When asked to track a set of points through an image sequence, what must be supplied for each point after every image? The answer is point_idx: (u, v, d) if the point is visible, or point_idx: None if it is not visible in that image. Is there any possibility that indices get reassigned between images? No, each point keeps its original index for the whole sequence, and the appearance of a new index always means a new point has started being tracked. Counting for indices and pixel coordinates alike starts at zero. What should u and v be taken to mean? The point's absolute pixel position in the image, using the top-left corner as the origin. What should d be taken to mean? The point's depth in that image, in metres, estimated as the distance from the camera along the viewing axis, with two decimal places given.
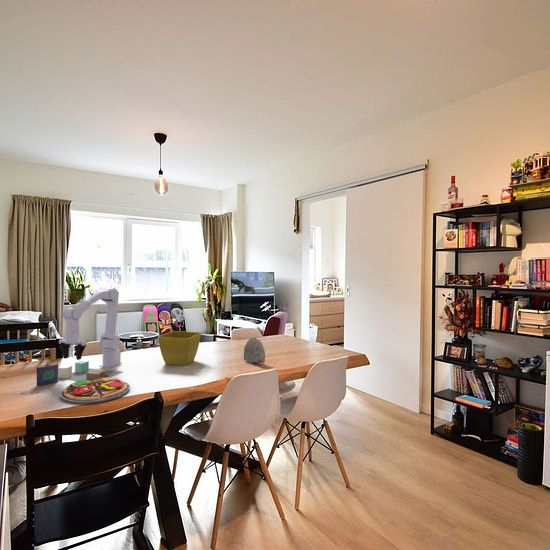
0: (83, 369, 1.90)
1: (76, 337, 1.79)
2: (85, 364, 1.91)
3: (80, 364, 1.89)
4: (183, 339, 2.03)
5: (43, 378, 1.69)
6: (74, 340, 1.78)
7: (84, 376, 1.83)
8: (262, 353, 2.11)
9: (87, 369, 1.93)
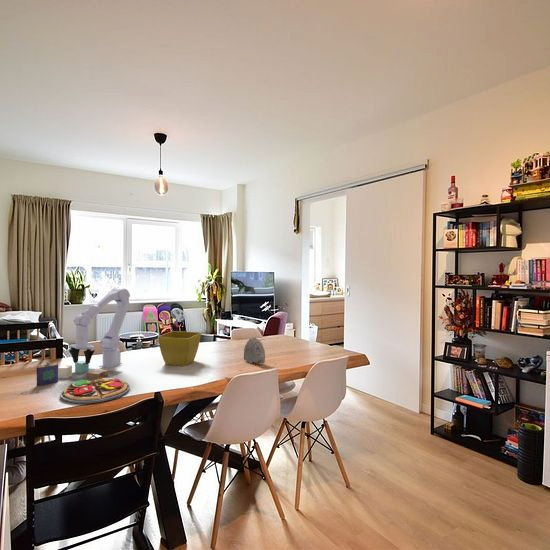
0: (83, 369, 1.90)
1: (85, 342, 1.91)
2: (85, 364, 1.91)
3: (80, 364, 1.89)
4: (183, 339, 2.03)
5: (43, 378, 1.69)
6: (83, 345, 1.90)
7: (84, 376, 1.83)
8: (262, 353, 2.11)
9: (87, 369, 1.93)
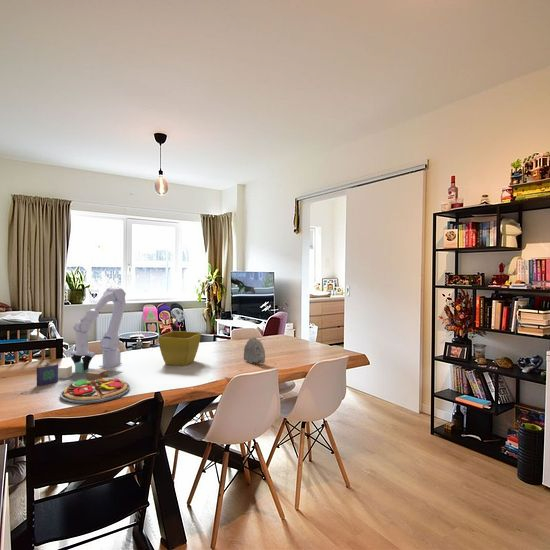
0: (83, 369, 1.90)
1: (85, 349, 1.91)
2: None
3: (80, 364, 1.89)
4: (183, 339, 2.03)
5: (43, 378, 1.69)
6: (83, 352, 1.90)
7: (84, 376, 1.83)
8: (262, 353, 2.11)
9: None
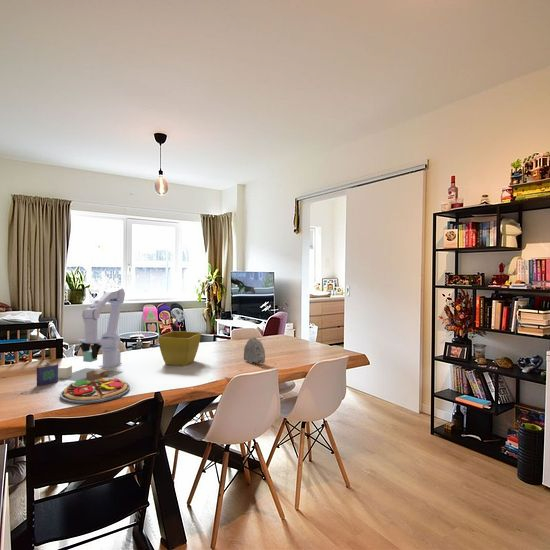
0: (92, 358, 1.84)
1: (94, 337, 1.85)
2: None
3: (88, 353, 1.83)
4: (183, 339, 2.03)
5: (43, 378, 1.69)
6: (92, 340, 1.84)
7: (84, 376, 1.83)
8: (262, 353, 2.11)
9: (96, 358, 1.87)
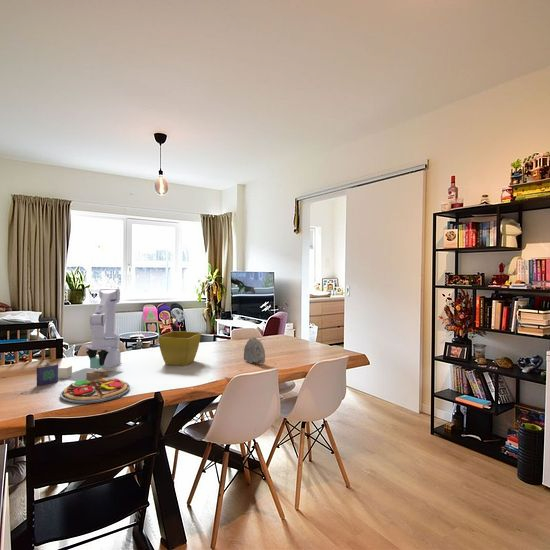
0: (99, 365, 1.80)
1: (101, 343, 1.81)
2: None
3: (95, 359, 1.79)
4: (183, 339, 2.03)
5: (43, 378, 1.69)
6: (99, 346, 1.80)
7: (84, 376, 1.83)
8: (262, 353, 2.11)
9: (103, 365, 1.83)
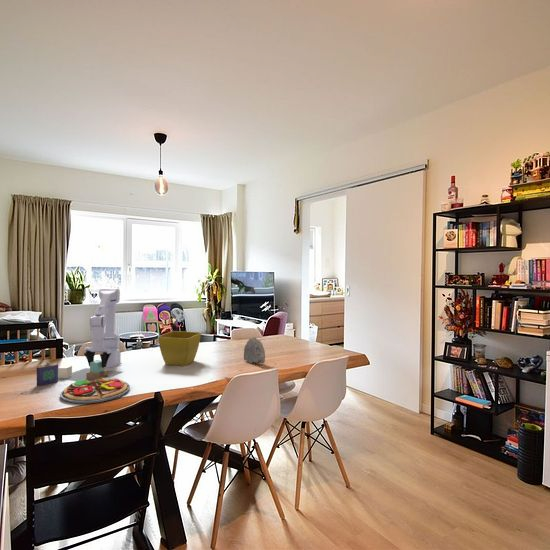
0: (99, 369, 1.80)
1: (101, 345, 1.81)
2: (101, 363, 1.82)
3: (95, 364, 1.80)
4: (183, 339, 2.03)
5: (43, 378, 1.69)
6: (99, 348, 1.80)
7: (84, 376, 1.83)
8: (262, 353, 2.11)
9: (102, 369, 1.83)
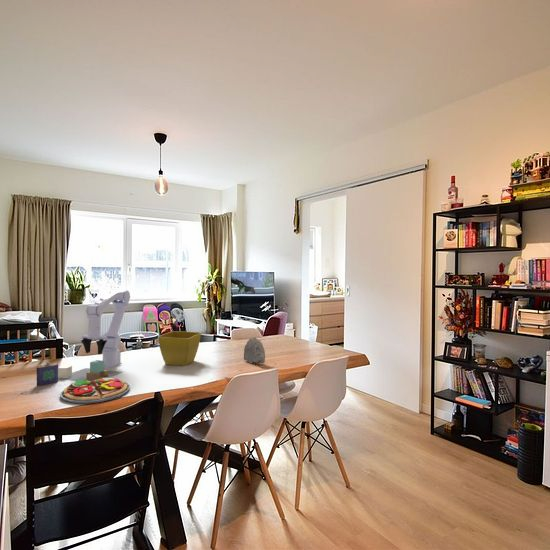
0: (99, 369, 1.80)
1: (98, 332, 1.89)
2: (101, 363, 1.82)
3: (95, 364, 1.80)
4: (183, 339, 2.03)
5: (43, 378, 1.69)
6: (96, 335, 1.89)
7: (84, 376, 1.83)
8: (262, 353, 2.11)
9: (102, 369, 1.83)
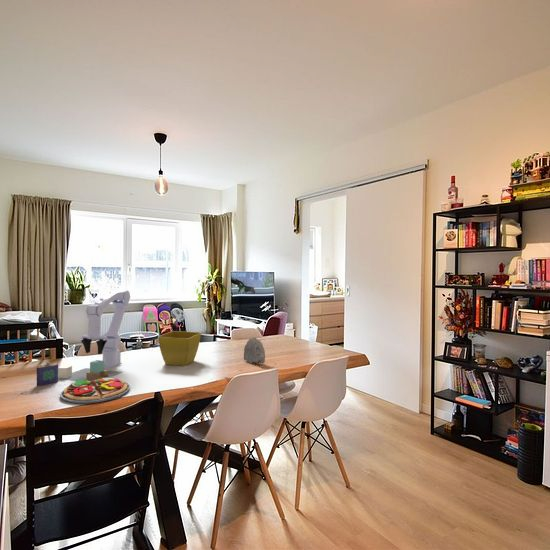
0: (99, 369, 1.80)
1: (98, 332, 1.89)
2: (101, 363, 1.82)
3: (95, 364, 1.80)
4: (183, 339, 2.03)
5: (43, 378, 1.69)
6: (96, 335, 1.89)
7: (84, 376, 1.83)
8: (262, 353, 2.11)
9: (102, 369, 1.83)
